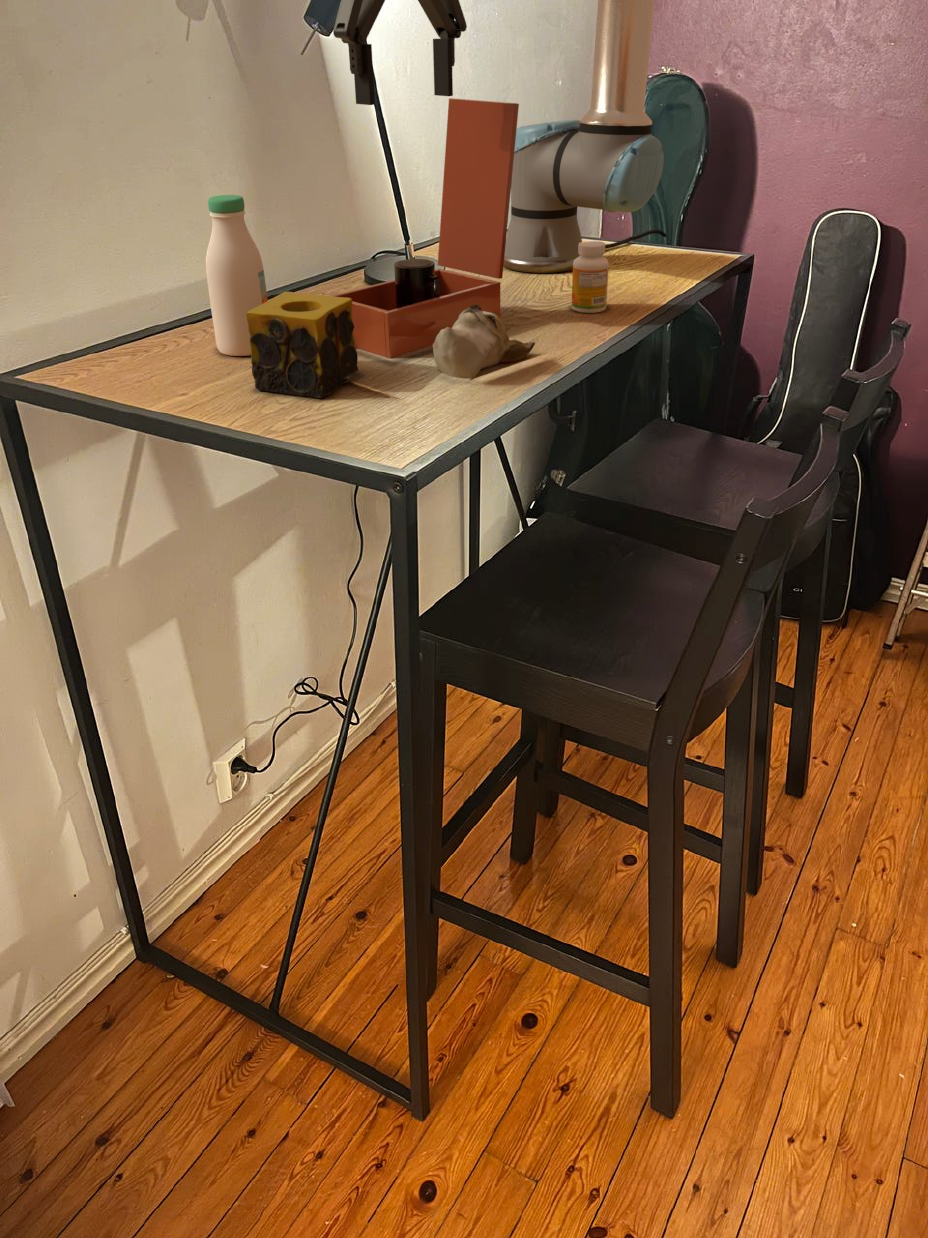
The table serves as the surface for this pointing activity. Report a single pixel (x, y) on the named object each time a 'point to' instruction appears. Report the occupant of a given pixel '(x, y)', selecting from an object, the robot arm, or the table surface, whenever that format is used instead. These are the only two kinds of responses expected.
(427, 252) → the table surface
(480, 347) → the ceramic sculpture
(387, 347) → the reddish-brown box
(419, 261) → the silver-capped dark cylinder
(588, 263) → the supplement bottle
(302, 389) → the candle
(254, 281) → the milk bottle
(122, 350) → the table surface
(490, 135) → the lid
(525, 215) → the robot arm
